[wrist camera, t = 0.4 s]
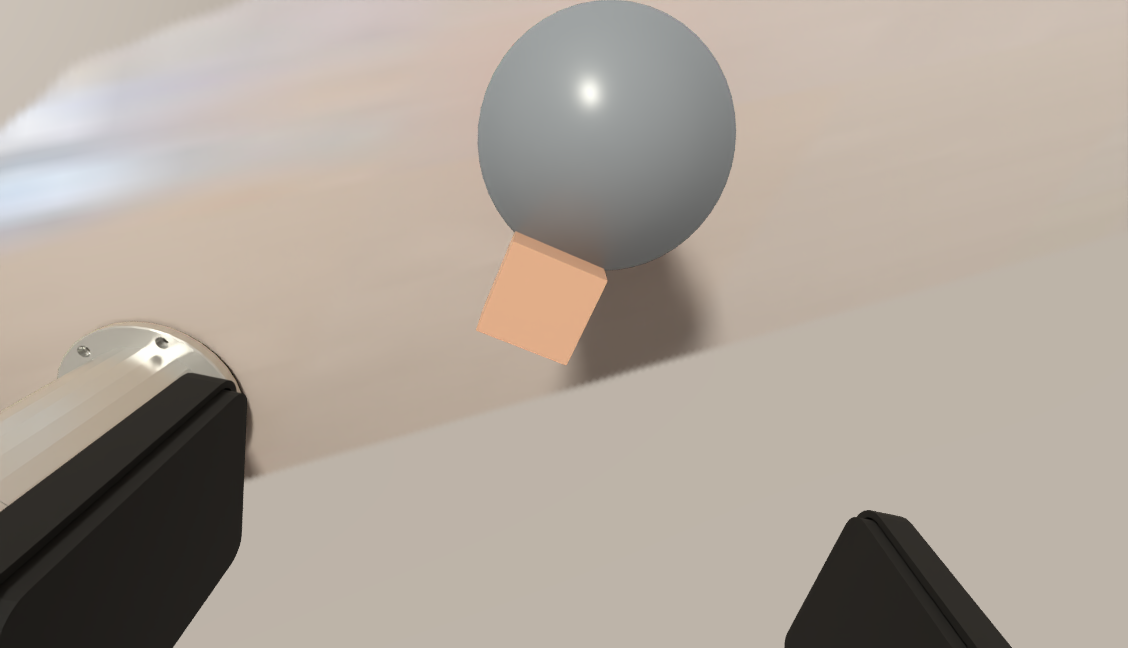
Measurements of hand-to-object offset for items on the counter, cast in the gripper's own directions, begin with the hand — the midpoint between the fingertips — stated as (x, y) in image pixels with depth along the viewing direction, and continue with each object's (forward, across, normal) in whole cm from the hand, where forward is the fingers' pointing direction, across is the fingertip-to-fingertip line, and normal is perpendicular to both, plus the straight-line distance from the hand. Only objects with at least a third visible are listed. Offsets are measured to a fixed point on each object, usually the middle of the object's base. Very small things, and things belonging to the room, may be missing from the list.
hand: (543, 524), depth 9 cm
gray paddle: (+17, -1, -3) cm, 17 cm away
